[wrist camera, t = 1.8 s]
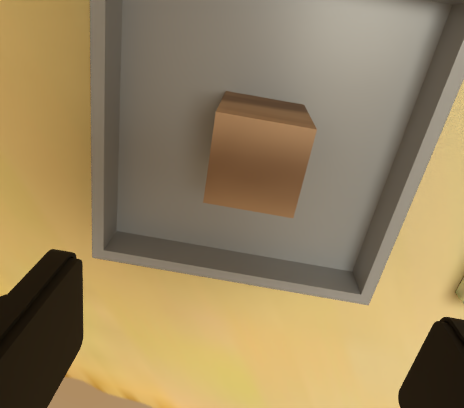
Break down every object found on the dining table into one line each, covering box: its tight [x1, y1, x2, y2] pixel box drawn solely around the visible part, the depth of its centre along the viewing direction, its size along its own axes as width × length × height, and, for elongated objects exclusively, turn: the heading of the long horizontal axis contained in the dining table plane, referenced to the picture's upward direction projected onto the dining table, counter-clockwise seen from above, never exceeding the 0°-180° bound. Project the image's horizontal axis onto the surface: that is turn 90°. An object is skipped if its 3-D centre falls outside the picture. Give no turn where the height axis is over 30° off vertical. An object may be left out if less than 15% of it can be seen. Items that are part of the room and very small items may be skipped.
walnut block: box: [203, 91, 317, 218], centre depth 22 cm, size 5×5×6 cm
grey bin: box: [90, 0, 464, 305], centre depth 24 cm, size 20×20×4 cm
